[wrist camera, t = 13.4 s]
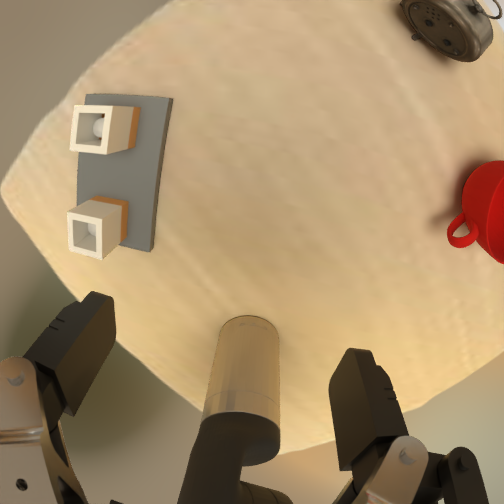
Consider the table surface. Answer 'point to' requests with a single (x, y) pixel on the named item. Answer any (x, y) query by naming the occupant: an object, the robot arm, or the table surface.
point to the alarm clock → (452, 26)
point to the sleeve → (104, 128)
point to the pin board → (120, 183)
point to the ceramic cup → (482, 211)
